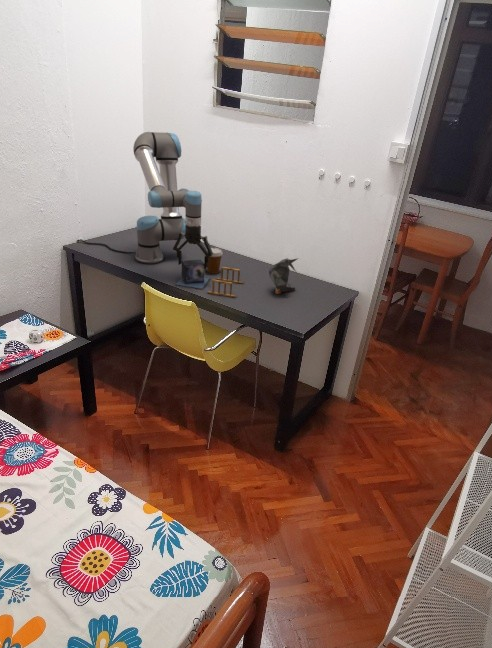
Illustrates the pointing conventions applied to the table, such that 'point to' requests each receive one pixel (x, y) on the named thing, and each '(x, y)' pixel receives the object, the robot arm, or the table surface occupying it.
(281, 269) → the bird figurine
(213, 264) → the disposable coffee cup
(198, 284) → the felt mat
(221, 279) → the rack
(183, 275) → the small box
